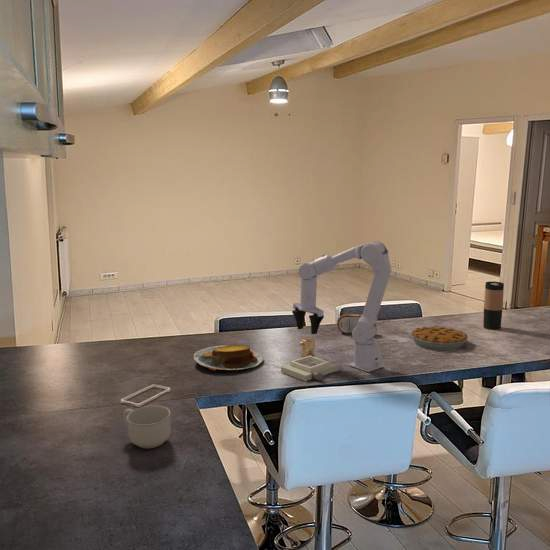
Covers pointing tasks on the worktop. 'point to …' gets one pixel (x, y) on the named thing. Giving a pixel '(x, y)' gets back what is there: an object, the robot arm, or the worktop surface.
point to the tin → (348, 322)
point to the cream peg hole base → (309, 368)
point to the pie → (439, 338)
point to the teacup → (148, 425)
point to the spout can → (307, 347)
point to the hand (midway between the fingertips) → (307, 331)
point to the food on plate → (227, 357)
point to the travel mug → (493, 305)
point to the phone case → (143, 391)
